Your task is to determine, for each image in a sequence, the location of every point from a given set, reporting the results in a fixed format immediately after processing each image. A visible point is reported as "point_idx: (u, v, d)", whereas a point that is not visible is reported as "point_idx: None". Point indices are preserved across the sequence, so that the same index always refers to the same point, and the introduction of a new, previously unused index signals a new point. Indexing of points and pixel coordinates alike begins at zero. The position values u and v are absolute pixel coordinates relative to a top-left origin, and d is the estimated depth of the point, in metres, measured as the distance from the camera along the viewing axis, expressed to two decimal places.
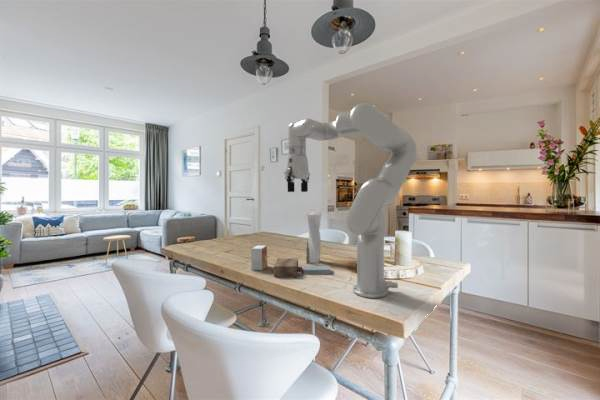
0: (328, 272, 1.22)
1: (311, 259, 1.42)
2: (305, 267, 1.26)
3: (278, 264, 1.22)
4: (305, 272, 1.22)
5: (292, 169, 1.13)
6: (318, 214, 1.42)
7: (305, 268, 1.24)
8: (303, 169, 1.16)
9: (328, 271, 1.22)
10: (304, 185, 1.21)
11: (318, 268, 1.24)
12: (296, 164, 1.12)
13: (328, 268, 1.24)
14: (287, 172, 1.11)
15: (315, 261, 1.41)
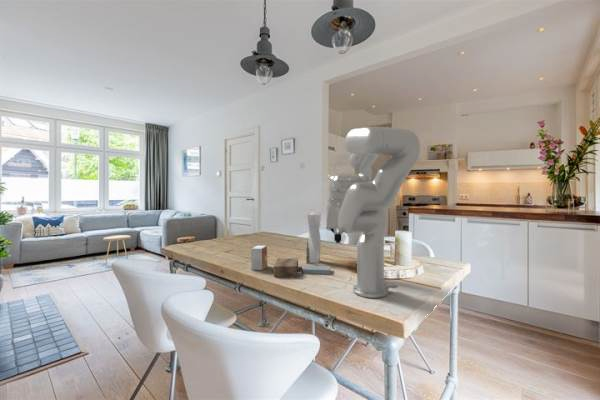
0: (327, 272, 1.21)
1: (311, 259, 1.42)
2: (305, 267, 1.26)
3: (278, 264, 1.22)
4: (304, 272, 1.23)
5: None
6: (318, 214, 1.42)
7: (305, 268, 1.25)
8: None
9: (327, 271, 1.21)
10: None
11: (317, 268, 1.24)
12: None
13: (328, 268, 1.23)
14: None
15: (315, 261, 1.41)
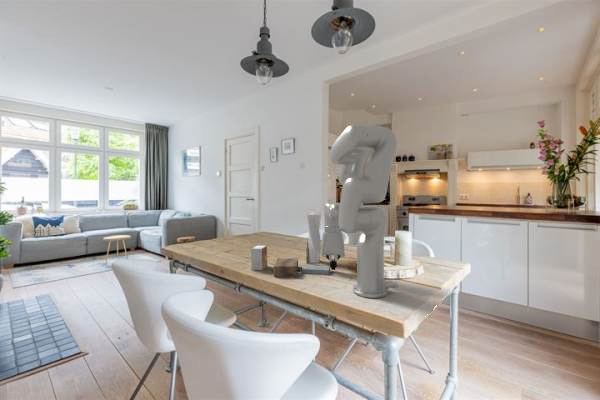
0: (326, 273, 1.21)
1: (311, 259, 1.42)
2: (305, 266, 1.27)
3: (278, 264, 1.22)
4: (304, 271, 1.23)
5: None
6: (318, 214, 1.42)
7: (304, 267, 1.25)
8: None
9: (326, 272, 1.21)
10: None
11: (317, 268, 1.24)
12: None
13: (327, 269, 1.22)
14: None
15: (315, 261, 1.41)
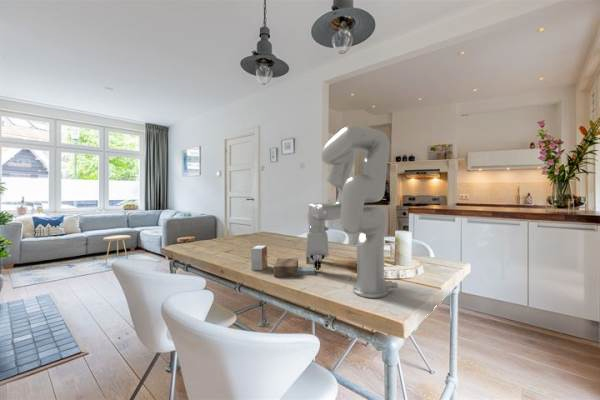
0: (313, 273, 1.21)
1: (311, 259, 1.42)
2: None
3: (278, 264, 1.22)
4: None
5: None
6: None
7: None
8: None
9: (313, 272, 1.21)
10: None
11: (302, 269, 1.23)
12: None
13: (313, 269, 1.23)
14: None
15: None
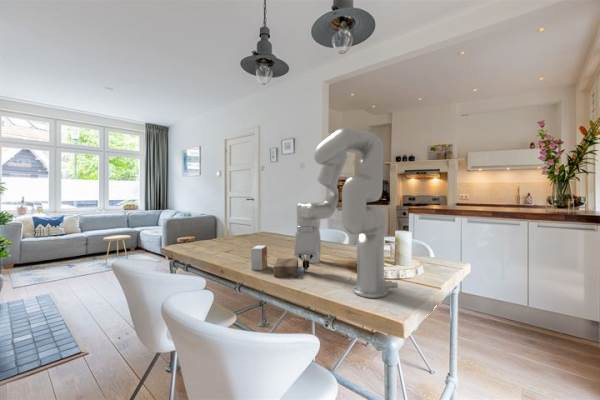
0: None
1: (311, 259, 1.42)
2: None
3: (278, 264, 1.22)
4: None
5: None
6: None
7: None
8: None
9: None
10: None
11: None
12: None
13: (302, 269, 1.23)
14: None
15: (315, 261, 1.41)
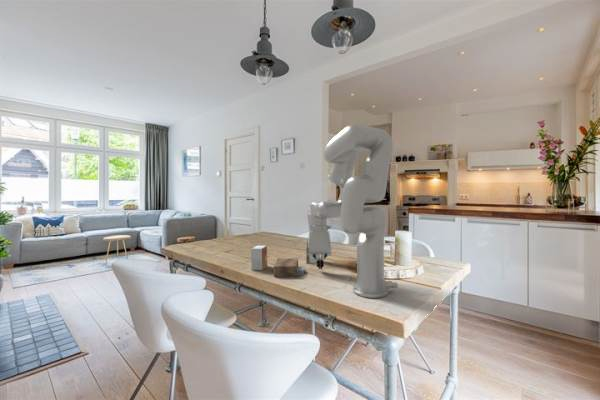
0: (302, 273, 1.21)
1: (311, 259, 1.42)
2: None
3: (278, 264, 1.22)
4: None
5: None
6: None
7: None
8: None
9: (302, 272, 1.21)
10: None
11: None
12: None
13: (302, 269, 1.23)
14: None
15: (315, 261, 1.41)
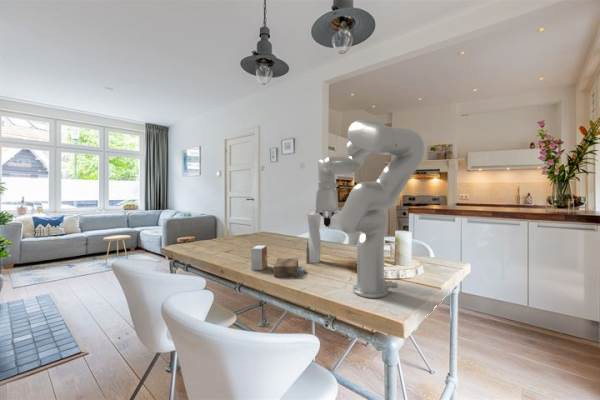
0: None
1: (311, 259, 1.42)
2: None
3: (278, 264, 1.22)
4: None
5: None
6: (318, 214, 1.42)
7: None
8: None
9: None
10: None
11: None
12: None
13: (302, 269, 1.23)
14: None
15: (315, 261, 1.41)
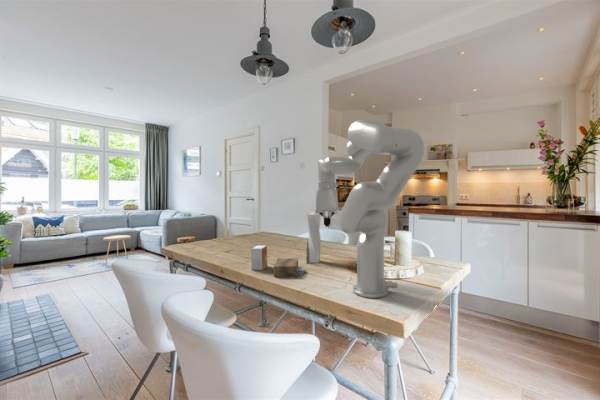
0: None
1: (311, 259, 1.42)
2: None
3: (278, 264, 1.22)
4: None
5: None
6: (318, 214, 1.42)
7: None
8: None
9: None
10: None
11: None
12: None
13: (302, 269, 1.23)
14: None
15: (315, 261, 1.41)
